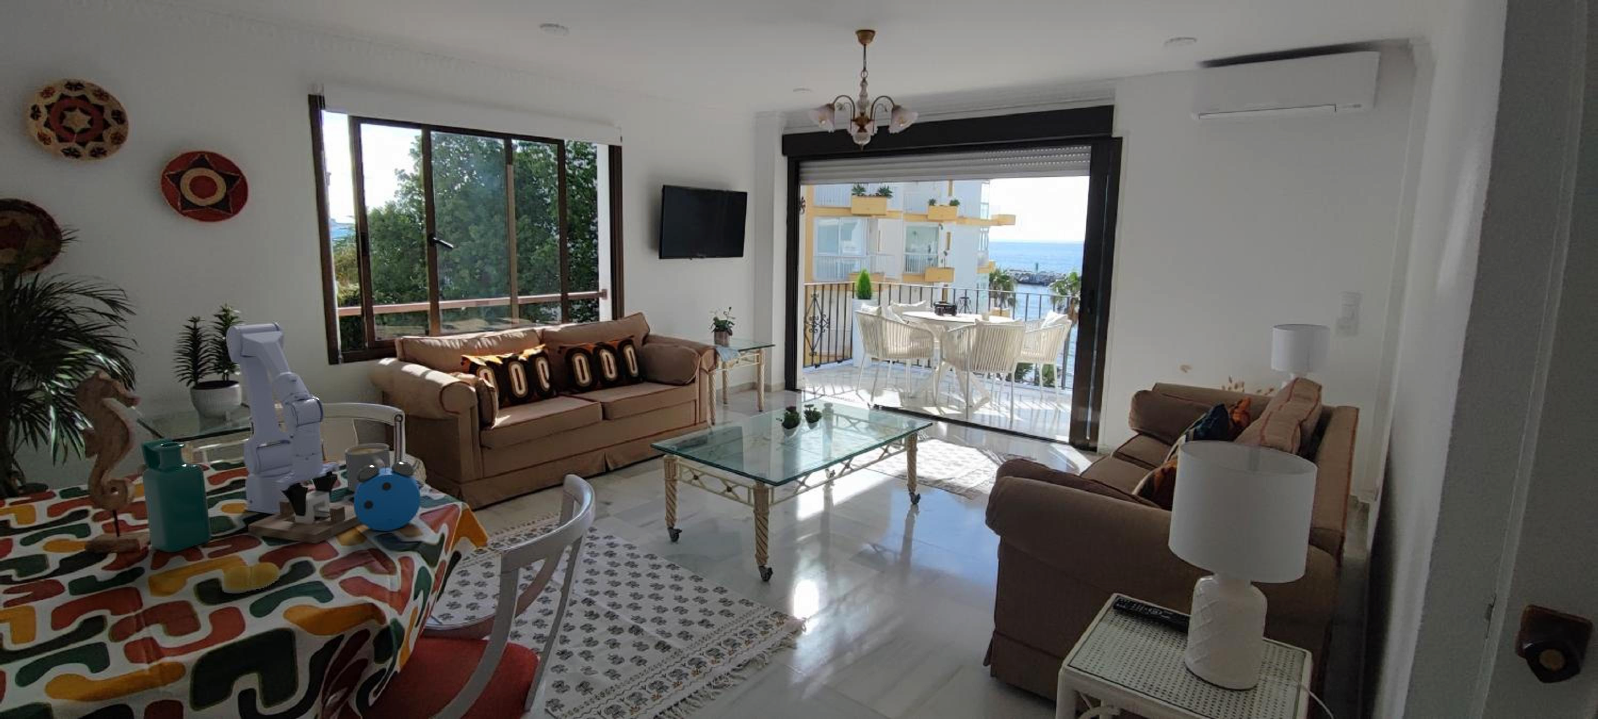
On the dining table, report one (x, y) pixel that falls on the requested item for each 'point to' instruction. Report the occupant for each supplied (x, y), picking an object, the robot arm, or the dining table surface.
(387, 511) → the alarm clock
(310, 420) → the robot arm
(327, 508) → the hook bar
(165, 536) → the teal bottle
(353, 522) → the shelf
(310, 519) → the grey u-slotted block
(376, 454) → the coffee mug
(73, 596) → the dining table surface
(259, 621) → the dining table surface
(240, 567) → the bread roll
